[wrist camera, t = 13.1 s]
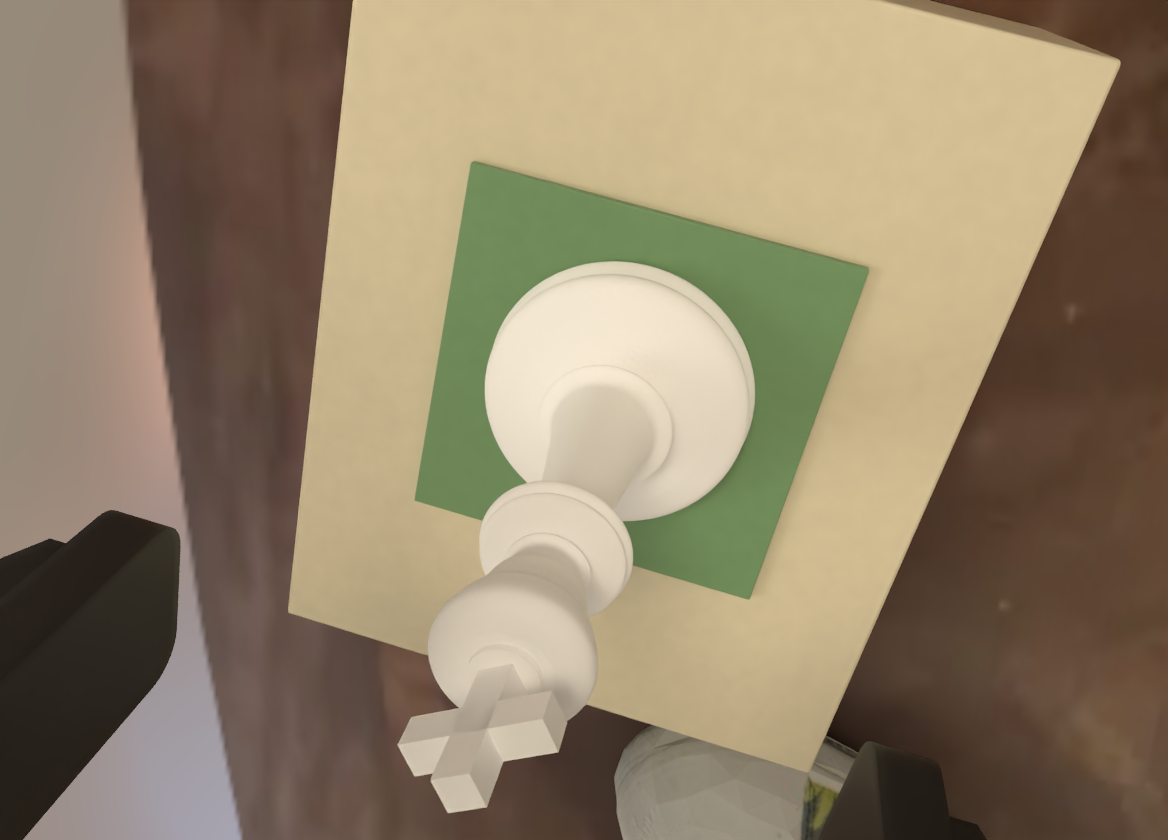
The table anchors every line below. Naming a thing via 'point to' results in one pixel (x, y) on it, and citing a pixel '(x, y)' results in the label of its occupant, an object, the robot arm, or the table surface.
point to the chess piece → (574, 501)
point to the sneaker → (722, 790)
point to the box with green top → (709, 262)
